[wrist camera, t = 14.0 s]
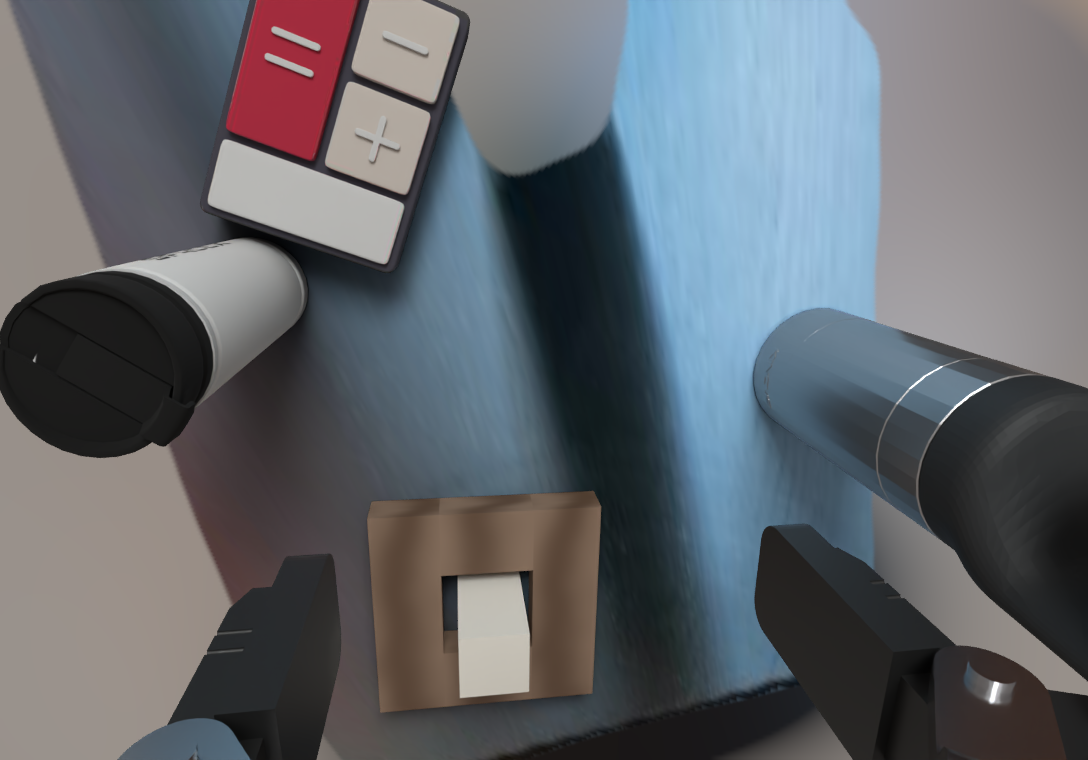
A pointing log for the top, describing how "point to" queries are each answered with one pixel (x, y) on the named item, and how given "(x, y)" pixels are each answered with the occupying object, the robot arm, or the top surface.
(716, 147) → the top surface
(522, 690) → the peg
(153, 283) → the travel mug
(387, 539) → the socket base
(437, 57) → the calculator
